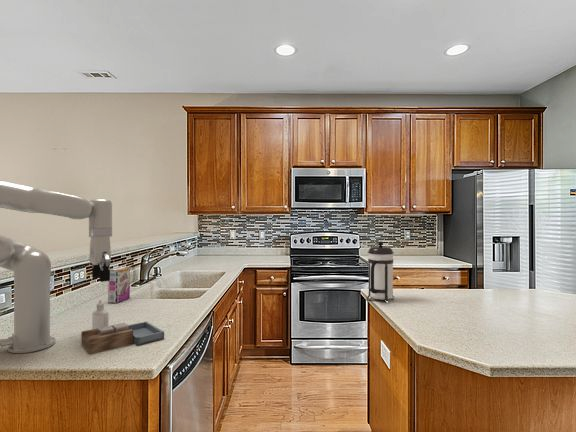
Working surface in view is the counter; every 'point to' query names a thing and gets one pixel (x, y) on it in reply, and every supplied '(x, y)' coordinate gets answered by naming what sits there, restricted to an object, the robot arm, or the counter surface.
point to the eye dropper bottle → (99, 316)
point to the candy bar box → (119, 285)
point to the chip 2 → (120, 327)
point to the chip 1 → (105, 330)
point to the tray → (145, 333)
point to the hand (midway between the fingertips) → (100, 279)
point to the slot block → (105, 340)
